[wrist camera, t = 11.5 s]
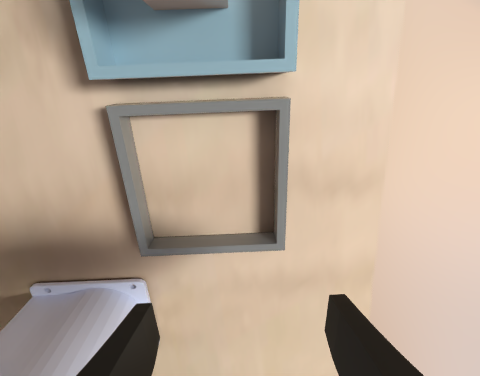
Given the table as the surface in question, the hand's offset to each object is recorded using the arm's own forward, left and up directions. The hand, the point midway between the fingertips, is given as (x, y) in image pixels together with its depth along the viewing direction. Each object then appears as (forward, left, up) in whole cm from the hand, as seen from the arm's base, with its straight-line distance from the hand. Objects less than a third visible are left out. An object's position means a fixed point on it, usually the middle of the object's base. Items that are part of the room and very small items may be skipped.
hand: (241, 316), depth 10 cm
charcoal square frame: (-2, +2, -9) cm, 10 cm away
